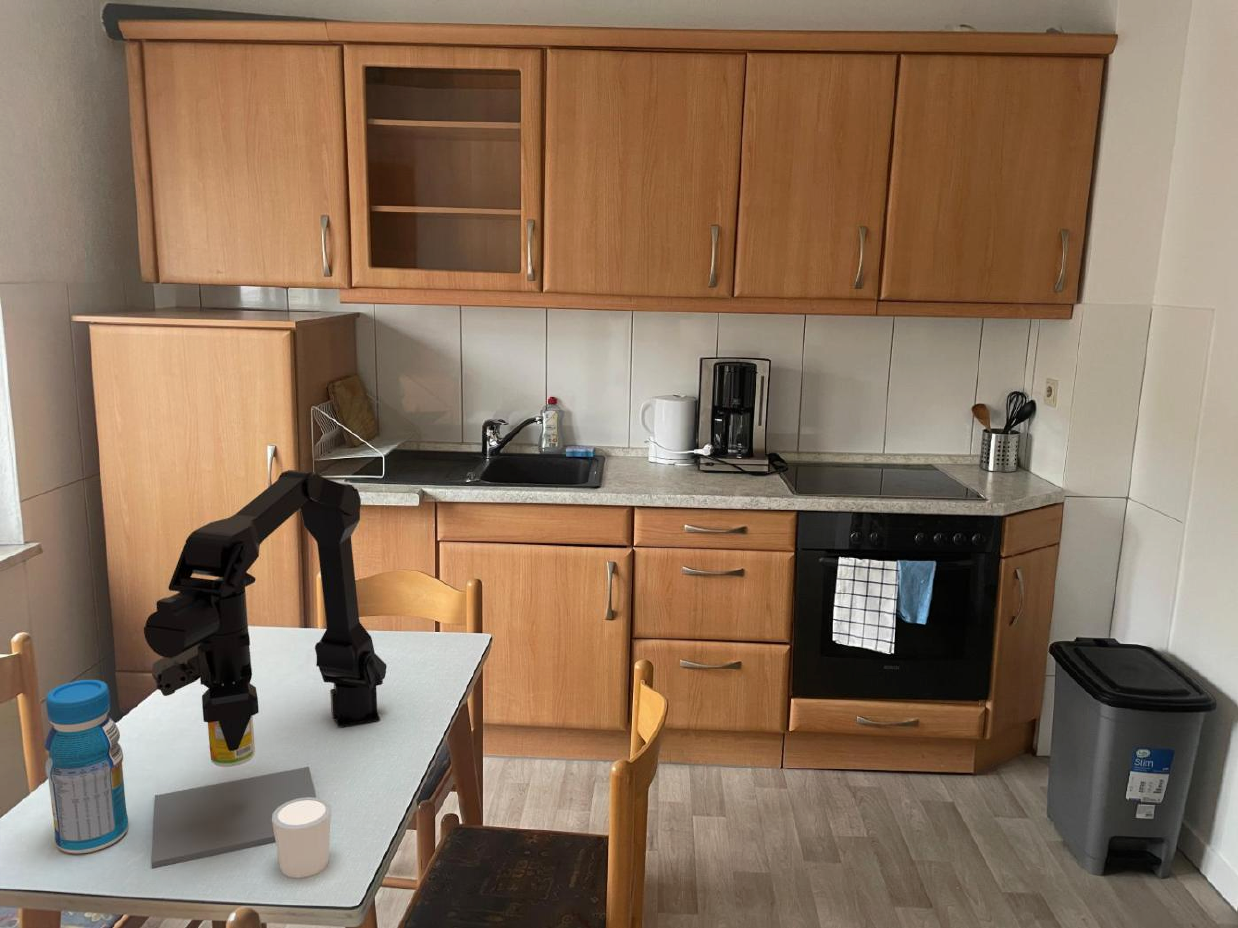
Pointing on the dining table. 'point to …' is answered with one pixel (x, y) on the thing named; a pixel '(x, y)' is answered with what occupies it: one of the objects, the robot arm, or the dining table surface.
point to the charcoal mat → (222, 815)
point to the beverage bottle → (84, 768)
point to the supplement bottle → (220, 749)
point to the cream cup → (302, 836)
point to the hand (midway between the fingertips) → (232, 739)
